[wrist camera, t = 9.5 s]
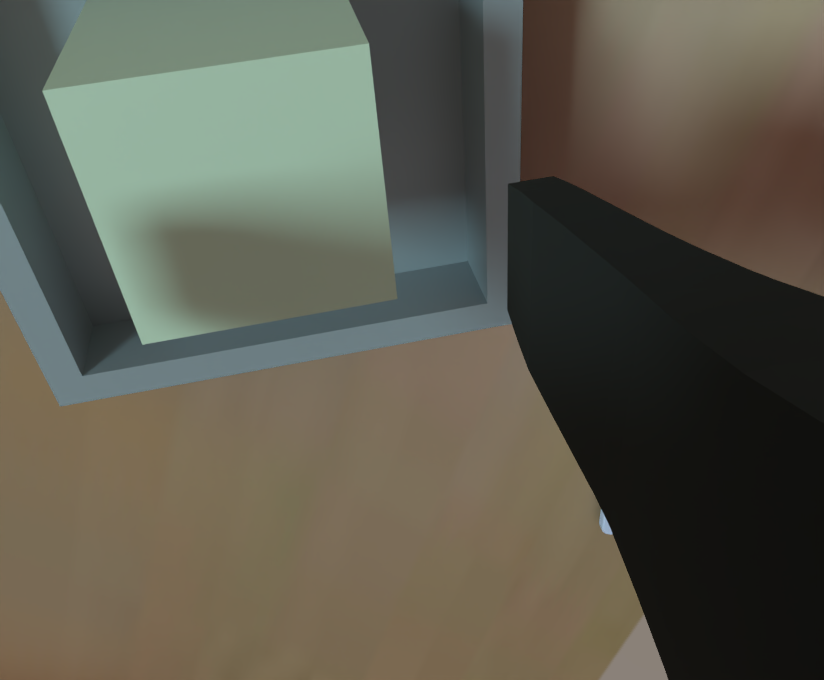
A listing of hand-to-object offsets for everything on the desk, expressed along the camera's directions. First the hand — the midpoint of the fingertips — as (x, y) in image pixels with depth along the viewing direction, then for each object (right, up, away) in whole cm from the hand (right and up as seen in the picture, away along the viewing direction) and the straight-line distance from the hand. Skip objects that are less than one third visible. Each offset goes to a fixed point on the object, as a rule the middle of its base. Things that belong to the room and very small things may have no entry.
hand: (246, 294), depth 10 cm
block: (-2, +5, +7) cm, 9 cm away
